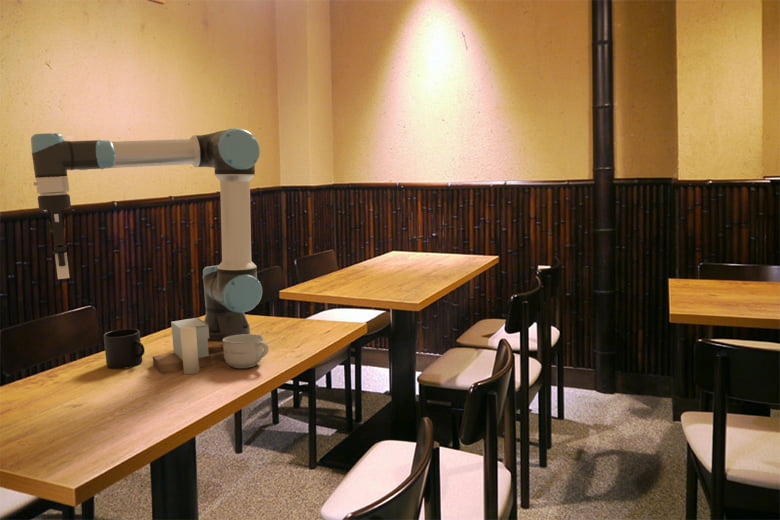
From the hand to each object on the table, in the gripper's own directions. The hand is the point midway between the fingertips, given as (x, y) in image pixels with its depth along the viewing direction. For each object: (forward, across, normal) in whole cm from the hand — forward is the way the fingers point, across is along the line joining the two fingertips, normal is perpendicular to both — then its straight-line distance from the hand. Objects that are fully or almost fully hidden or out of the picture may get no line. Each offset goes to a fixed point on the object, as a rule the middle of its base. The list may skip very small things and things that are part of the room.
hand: (63, 274), depth 177 cm
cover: (+25, +8, +30) cm, 40 cm away
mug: (+28, -1, +14) cm, 31 cm away
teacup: (+28, +20, +42) cm, 54 cm away
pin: (+28, +16, +28) cm, 42 cm away
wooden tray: (+28, +8, +30) cm, 41 cm away
